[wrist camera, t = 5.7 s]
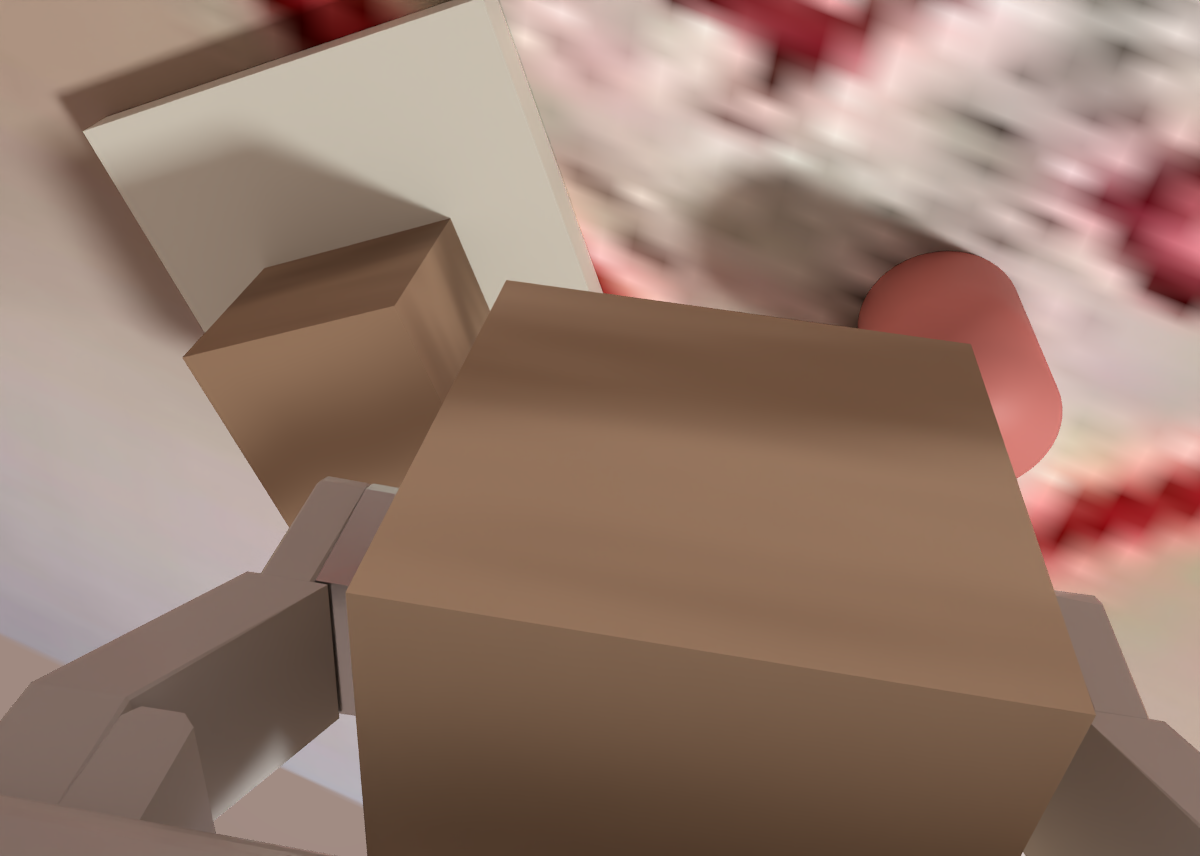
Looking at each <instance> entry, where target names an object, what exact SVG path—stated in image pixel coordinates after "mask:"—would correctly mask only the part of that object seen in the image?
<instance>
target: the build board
mask: <svg viewBox="0 0 1200 856" xmlns="http://www.w3.org/2000/svg"><path fill="white" fill-rule="evenodd" d="M83 133H84V134H85V136H86V138H87V139H88V141H89V143H90V144H91V146H92V148H93V149H94V151H95V153H96V154H97V156H98V158H99V159H100V161H101V162H102V164H103V166H104V167H105V169H106V171H107V172H108V174H109V176H110V177H111V179H112V181H113V182H114V184H115V186H116V187H117V189H118V191H119V192H120V194H121V195H122V197H123V199H124V200H125V202H126V204H127V205H128V207H129V209H130V210H131V212H132V214H133V215H134V217H135V219H136V220H137V222H138V224H139V225H140V227H141V228H142V230H143V232H144V233H145V235H146V237H147V238H148V240H149V242H150V243H151V245H152V247H153V248H154V250H155V252H156V253H157V255H158V257H159V258H160V260H161V261H162V263H163V265H164V266H165V268H166V270H167V271H168V273H169V275H170V276H171V278H172V280H173V281H174V283H175V285H176V286H177V288H178V290H179V291H180V293H181V294H182V296H183V298H184V299H185V301H186V303H187V304H188V306H189V308H190V309H191V311H192V313H193V314H194V316H195V318H196V319H197V321H198V323H199V324H200V326H201V328H202V329H203V331H204V332H206V331H207V330H208V329H209V328H210V327H211V326H212V325H213V324H214V323H215V321H216V320H217V319H218V318H219V317H220V316H221V315H222V314H223V313H224V312H225V311H226V309H227V308H228V307H229V306H230V305H231V304H232V303H233V302H234V301H235V300H236V299H237V297H238V296H239V295H240V294H241V293H242V292H243V291H244V290H245V289H246V288H247V286H248V285H249V284H250V283H251V282H252V281H253V280H254V279H255V278H256V277H257V276H258V274H259V273H260V272H261V271H262V270H263V269H264V268H267V267H270V266H274V265H278V264H282V263H285V262H289V261H293V260H297V259H300V258H304V257H308V256H311V255H315V254H319V253H323V252H326V251H330V250H334V249H338V248H341V247H345V246H349V245H352V244H356V243H360V242H364V241H367V240H371V239H375V238H379V237H382V236H386V235H390V234H393V233H397V232H401V231H405V230H408V229H412V228H416V227H420V226H423V225H427V224H431V223H434V222H438V221H442V220H446V219H449V218H451V221H452V223H453V225H454V228H455V230H456V232H457V235H458V237H459V239H460V242H461V244H462V246H463V249H464V251H465V253H466V256H467V258H468V260H469V263H470V265H471V267H472V270H473V272H474V274H475V277H476V279H477V281H478V284H479V286H480V288H481V291H482V293H483V295H484V298H485V300H486V302H487V305H488V307H489V309H490V311H491V309H492V307H493V305H494V303H495V301H496V299H497V297H498V295H499V293H500V291H501V289H502V287H503V285H504V283H505V282H506V280H511V281H518V282H525V283H532V284H540V285H547V286H554V287H561V288H569V289H576V290H583V291H590V292H597V293H603V292H602V289H601V286H600V283H599V281H598V278H597V275H596V272H595V269H594V267H593V264H592V261H591V258H590V255H589V253H588V250H587V247H586V244H585V241H584V239H583V236H582V233H581V230H580V227H579V225H578V222H577V219H576V216H575V213H574V211H573V208H572V205H571V202H570V199H569V197H568V194H567V191H566V188H565V185H564V183H563V180H562V177H561V174H560V171H559V169H558V166H557V163H556V160H555V157H554V155H553V152H552V149H551V146H550V143H549V141H548V138H547V135H546V132H545V129H544V127H543V124H542V121H541V118H540V115H539V113H538V110H537V107H536V104H535V101H534V99H533V96H532V93H531V90H530V87H529V85H528V82H527V79H526V76H525V73H524V71H523V68H522V65H521V62H520V59H519V57H518V54H517V51H516V48H515V45H514V43H513V40H512V37H511V34H510V31H509V29H508V26H507V23H506V20H505V18H504V15H503V12H502V9H501V6H500V4H499V1H498V0H451V1H448V2H445V3H442V4H439V5H436V6H433V7H430V8H427V9H424V10H421V11H418V12H416V13H413V14H410V15H407V16H404V17H401V18H398V19H395V20H392V21H389V22H386V23H383V24H380V25H377V26H374V27H371V28H368V29H365V30H362V31H359V32H356V33H353V34H350V35H347V36H344V37H342V38H339V39H336V40H333V41H330V42H327V43H324V44H321V45H318V46H315V47H312V48H309V49H306V50H303V51H300V52H297V53H294V54H291V55H288V56H285V57H282V58H279V59H276V60H273V61H271V62H268V63H265V64H262V65H259V66H256V67H253V68H250V69H247V70H244V71H241V72H238V73H235V74H232V75H229V76H226V77H223V78H220V79H217V80H214V81H211V82H208V83H205V84H202V85H200V86H197V87H194V88H191V89H188V90H185V91H182V92H179V93H176V94H173V95H170V96H167V97H164V98H161V99H158V100H155V101H152V102H149V103H146V104H143V105H140V106H137V107H134V108H131V109H129V110H126V111H123V112H120V113H117V114H114V115H111V116H108V117H105V118H104V119H102V120H100V121H99V122H97V123H96V124H94V125H92V126H91V127H89V128H87V129H86V130H84V131H83Z"/></svg>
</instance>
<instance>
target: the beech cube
mask: <svg viewBox="0 0 1200 856" xmlns="http://www.w3.org/2000/svg"><path fill="white" fill-rule="evenodd" d="M345 593H346V605H347V617H348V629H349V641H350V653H351V665H352V677H353V688H354V700H355V712H356V724H357V736H358V748H359V760H360V772H361V784H362V796H363V808H364V820H365V832H366V844H367V856H1021V854H1022V852H1023V850H1024V848H1025V847H1026V845H1027V843H1028V841H1029V839H1030V837H1031V835H1032V834H1033V832H1034V830H1035V828H1036V826H1037V824H1038V822H1039V821H1040V819H1041V817H1042V815H1043V813H1044V811H1045V809H1046V808H1047V806H1048V804H1049V802H1050V800H1051V798H1052V796H1053V795H1054V793H1055V791H1056V789H1057V787H1058V785H1059V783H1060V781H1061V780H1062V778H1063V776H1064V774H1065V772H1066V770H1067V768H1068V767H1069V765H1070V763H1071V761H1072V759H1073V757H1074V755H1075V754H1076V752H1077V750H1078V748H1079V746H1080V744H1081V742H1082V741H1083V739H1084V737H1085V735H1086V733H1087V731H1088V729H1089V727H1090V726H1091V724H1092V722H1093V720H1094V718H1095V716H1096V713H1095V710H1094V707H1093V704H1092V701H1091V698H1090V696H1089V693H1088V690H1087V687H1086V684H1085V681H1084V678H1083V675H1082V672H1081V669H1080V666H1079V663H1078V660H1077V657H1076V654H1075V651H1074V648H1073V645H1072V642H1071V639H1070V636H1069V633H1068V630H1067V627H1066V624H1065V621H1064V618H1063V616H1062V613H1061V610H1060V607H1059V604H1058V601H1057V598H1056V595H1055V592H1054V589H1053V586H1052V583H1051V580H1050V577H1049V574H1048V571H1047V568H1046V565H1045V562H1044V559H1043V556H1042V553H1041V550H1040V547H1039V544H1038V541H1037V539H1036V536H1035V533H1034V530H1033V527H1032V524H1031V521H1030V518H1029V515H1028V512H1027V509H1026V506H1025V503H1024V500H1023V497H1022V494H1021V491H1020V488H1019V485H1018V482H1017V479H1016V476H1015V473H1014V470H1013V467H1012V464H1011V461H1010V459H1009V456H1008V453H1007V450H1006V447H1005V444H1004V441H1003V438H1002V435H1001V432H1000V429H999V426H998V423H997V420H996V417H995V414H994V411H993V408H992V405H991V402H990V399H989V396H988V393H987V390H986V387H985V384H984V382H983V379H982V376H981V373H980V370H979V367H978V364H977V361H976V358H975V355H974V352H973V349H972V346H971V344H966V343H959V342H952V341H945V340H937V339H930V338H923V337H916V336H908V335H901V334H894V333H887V332H879V331H872V330H865V329H858V328H851V327H843V326H836V325H829V324H822V323H814V322H807V321H800V320H793V319H785V318H778V317H771V316H764V315H757V314H749V313H742V312H735V311H728V310H720V309H713V308H706V307H699V306H691V305H684V304H677V303H670V302H663V301H655V300H648V299H641V298H634V297H626V296H619V295H612V294H605V293H597V292H590V291H583V290H576V289H569V288H561V287H554V286H547V285H540V284H532V283H525V282H518V281H511V280H506V282H505V283H504V285H503V287H502V289H501V291H500V293H499V295H498V297H497V299H496V301H495V303H494V305H493V307H492V309H491V311H490V313H489V315H488V316H487V318H486V320H485V322H484V324H483V326H482V328H481V330H480V332H479V334H478V336H477V338H476V340H475V342H474V344H473V346H472V348H471V350H470V351H469V353H468V355H467V357H466V359H465V361H464V363H463V365H462V367H461V369H460V371H459V373H458V375H457V377H456V379H455V381H454V383H453V384H452V386H451V388H450V390H449V392H448V394H447V396H446V398H445V400H444V402H443V404H442V406H441V408H440V410H439V412H438V414H437V416H436V418H435V419H434V421H433V423H432V425H431V427H430V429H429V431H428V433H427V435H426V437H425V439H424V441H423V443H422V445H421V447H420V449H419V451H418V453H417V454H416V456H415V458H414V460H413V462H412V464H411V466H410V468H409V470H408V472H407V474H406V476H405V478H404V480H403V482H402V484H401V486H400V487H399V489H398V491H397V493H396V495H395V497H394V499H393V501H392V503H391V505H390V507H389V509H388V511H387V513H386V515H385V517H384V519H383V521H382V522H381V524H380V526H379V528H378V530H377V532H376V534H375V536H374V538H373V540H372V542H371V544H370V546H369V548H368V550H367V552H366V554H365V555H364V557H363V559H362V561H361V563H360V565H359V567H358V569H357V571H356V573H355V575H354V577H353V579H352V581H351V583H350V585H349V587H348V589H347V590H346V592H345Z"/></svg>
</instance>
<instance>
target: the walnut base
mask: <svg viewBox="0 0 1200 856" xmlns="http://www.w3.org/2000/svg"><path fill="white" fill-rule="evenodd" d="M489 313H490V309H489V307H488V305H487V302H486V300H485V298H484V295H483V293H482V291H481V288H480V286H479V284H478V281H477V279H476V277H475V274H474V272H473V270H472V267H471V265H470V263H469V260H468V258H467V256H466V253H465V251H464V249H463V246H462V244H461V242H460V239H459V237H458V235H457V232H456V230H455V228H454V225H453V223H452V221H451V218H449V219H446V220H442V221H438V222H434V223H431V224H427V225H423V226H420V227H416V228H412V229H408V230H405V231H401V232H397V233H393V234H390V235H386V236H382V237H379V238H375V239H371V240H367V241H364V242H360V243H356V244H352V245H349V246H345V247H341V248H338V249H334V250H330V251H326V252H323V253H319V254H315V255H311V256H308V257H304V258H300V259H297V260H293V261H289V262H285V263H282V264H278V265H274V266H270V267H267V268H264V269H263V270H262V271H261V272H260V273H259V274H258V276H257V277H256V278H255V279H254V280H253V281H252V282H251V283H250V284H249V285H248V286H247V288H246V289H245V290H244V291H243V292H242V293H241V294H240V295H239V296H238V297H237V299H236V300H235V301H234V302H233V303H232V304H231V305H230V306H229V307H228V308H227V309H226V311H225V312H224V313H223V314H222V315H221V316H220V317H219V318H218V319H217V320H216V321H215V323H214V324H213V325H212V326H211V327H210V328H209V329H208V330H207V331H206V332H205V333H204V335H203V336H202V337H201V338H200V339H199V340H198V341H197V342H196V343H195V344H194V345H193V347H192V348H191V349H190V350H189V351H188V352H187V353H186V354H185V355H184V356H183V359H184V361H185V362H186V364H187V366H188V367H189V369H190V370H191V372H192V374H193V375H194V377H195V378H196V380H197V382H198V383H199V385H200V386H201V388H202V389H203V391H204V393H205V394H206V396H207V397H208V399H209V401H210V402H211V404H212V405H213V407H214V409H215V410H216V412H217V413H218V415H219V417H220V418H221V420H222V421H223V423H224V424H225V426H226V428H227V429H228V431H229V432H230V434H231V436H232V437H233V439H234V440H235V442H236V444H237V445H238V447H239V448H240V450H241V451H242V453H243V455H244V456H245V458H246V459H247V461H248V463H249V464H250V466H251V467H252V469H253V471H254V472H255V474H256V475H257V477H258V479H259V480H260V482H261V483H262V485H263V486H264V488H265V490H266V491H267V493H268V494H269V496H270V498H271V499H272V501H273V502H274V504H275V506H276V507H277V509H278V510H279V512H280V514H281V515H282V517H283V518H284V520H285V521H286V523H287V525H288V526H289V528H290V526H291V524H292V523H293V521H294V520H295V518H296V516H297V515H298V513H299V512H300V510H301V508H302V507H303V505H304V504H305V502H306V500H307V499H308V497H309V496H310V494H311V492H312V491H313V489H314V488H315V486H316V484H317V483H318V482H320V481H321V480H323V479H324V478H326V477H327V476H330V477H335V478H341V479H347V480H353V481H358V482H364V483H368V484H371V485H372V484H379V485H385V486H390V487H396V488H399V487H400V486H401V484H402V482H403V480H404V478H405V476H406V474H407V472H408V470H409V468H410V466H411V464H412V462H413V460H414V458H415V456H416V454H417V453H418V451H419V449H420V447H421V445H422V443H423V441H424V439H425V437H426V435H427V433H428V431H429V429H430V427H431V425H432V423H433V421H434V419H435V418H436V416H437V414H438V412H439V410H440V408H441V406H442V404H443V402H444V400H445V398H446V396H447V394H448V392H449V390H450V388H451V386H452V384H453V383H454V381H455V379H456V377H457V375H458V373H459V371H460V369H461V367H462V365H463V363H464V361H465V359H466V357H467V355H468V353H469V351H470V350H471V348H472V346H473V344H474V342H475V340H476V338H477V336H478V334H479V332H480V330H481V328H482V326H483V324H484V322H485V320H486V318H487V316H488V315H489Z"/></svg>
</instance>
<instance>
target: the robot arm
mask: <svg viewBox="0 0 1200 856" xmlns="http://www.w3.org/2000/svg"><path fill="white" fill-rule="evenodd" d="M398 489H399V488H396V487H390V486H385V485H379V484H372V485H371V484H368V483H364V482H358V481H353V480H347V479H341V478H335V477H330V476H327V477H326V478H324V479H323V480H321V481H320V482H318V483H317V484H316V486H315V488H314V489H313V491H312V492H311V494H310V496H309V497H308V499H307V500H306V502H305V504H304V505H303V507H302V508H301V510H300V512H299V513H298V515H297V516H296V518H295V520H294V521H293V523H292V524H291V526H290V528H289V529H288V531H287V532H286V534H285V535H284V537H283V539H282V540H281V542H280V543H279V545H278V547H277V548H276V550H275V551H274V553H273V555H272V556H271V558H270V559H269V561H268V563H267V564H266V566H265V567H264V569H263V571H262V572H261V573H254V572H248V571H247V572H245V573H243V574H241V575H239V576H237V577H236V578H234V579H232V580H230V581H228V582H226V583H224V584H222V585H220V586H218V587H216V588H214V589H212V590H210V591H208V592H206V593H204V594H202V595H200V596H199V597H197V598H195V599H193V600H191V601H189V602H187V603H185V604H183V605H181V606H179V607H177V608H175V609H173V610H171V611H169V612H167V613H165V614H163V615H162V616H160V617H158V618H156V619H154V620H152V621H150V622H148V623H146V624H144V625H142V626H140V627H138V628H136V629H134V630H132V631H130V632H128V633H126V634H124V635H123V636H121V637H119V638H117V639H115V640H113V641H111V642H109V643H107V644H105V645H103V646H101V647H99V648H97V649H95V650H93V651H91V652H89V653H87V654H86V655H84V656H82V657H80V658H78V659H76V660H74V661H72V662H70V663H68V664H66V665H64V666H62V667H60V668H58V669H57V670H54V671H52V672H51V673H49V674H47V675H45V676H43V677H41V678H39V679H37V680H35V681H33V682H31V683H30V685H29V686H28V687H27V688H26V689H25V691H24V692H23V693H22V694H21V696H20V697H19V698H18V699H17V701H16V702H15V703H14V704H13V706H12V707H11V708H10V709H9V711H8V712H7V713H6V714H5V716H4V717H3V718H2V719H1V721H0V856H336V855H331V854H325V853H320V852H314V851H309V850H303V849H297V848H292V847H287V846H281V845H276V844H270V843H265V842H259V841H254V840H248V839H243V838H237V837H231V836H226V835H221V834H216V832H215V827H214V822H213V821H214V820H215V819H217V818H218V817H219V816H220V815H221V814H223V813H224V812H225V811H226V810H228V809H229V808H230V807H231V806H233V805H234V804H235V803H236V802H237V801H239V800H240V799H241V798H242V797H243V796H245V795H246V794H247V793H248V792H250V791H251V790H252V789H253V788H254V787H256V786H257V785H258V784H259V783H261V782H262V781H263V780H264V779H265V778H267V777H268V776H269V775H270V774H272V773H273V772H274V771H275V770H276V769H278V768H279V767H280V766H281V765H283V764H284V763H285V762H286V761H287V760H289V759H290V758H291V757H292V756H294V755H295V754H296V753H297V752H298V751H300V750H301V749H302V748H303V747H304V746H306V745H307V744H308V743H309V742H311V741H312V740H313V739H314V738H315V737H317V736H318V735H319V734H320V733H322V732H323V731H324V730H325V729H326V728H328V727H329V726H330V725H331V724H333V723H334V722H335V721H336V720H337V719H339V713H341V714H348V715H355V716H356V712H355V700H354V688H353V677H352V665H351V653H350V641H349V629H348V617H347V605H346V593H345V592H346V590H347V589H348V587H349V585H350V583H351V581H352V579H353V577H354V575H355V573H356V571H357V569H358V567H359V565H360V563H361V561H362V559H363V557H364V555H365V554H366V552H367V550H368V548H369V546H370V544H371V542H372V540H373V538H374V536H375V534H376V532H377V530H378V528H379V526H380V524H381V522H382V521H383V519H384V517H385V515H386V513H387V511H388V509H389V507H390V505H391V503H392V501H393V499H394V497H395V495H396V493H397V491H398ZM1054 592H1055V595H1056V598H1057V601H1058V604H1059V607H1060V610H1061V613H1062V616H1063V618H1064V621H1065V624H1066V627H1067V630H1068V633H1069V636H1070V639H1071V642H1072V645H1073V648H1074V651H1075V654H1076V657H1077V660H1078V663H1079V666H1080V669H1081V672H1082V675H1083V678H1084V681H1085V684H1086V687H1087V690H1088V693H1089V696H1090V698H1091V701H1092V704H1093V707H1094V710H1095V713H1096V716H1095V718H1094V720H1093V722H1092V724H1091V726H1090V727H1089V729H1088V731H1087V733H1086V735H1085V737H1084V739H1083V741H1082V742H1081V744H1080V746H1079V748H1078V750H1077V752H1076V754H1075V755H1074V757H1073V759H1072V761H1071V763H1070V765H1069V767H1068V768H1067V770H1066V772H1065V774H1064V776H1063V778H1062V780H1061V781H1060V783H1059V785H1058V787H1057V789H1056V791H1055V793H1054V795H1053V796H1052V798H1051V800H1050V802H1049V804H1048V806H1047V808H1046V809H1045V811H1044V813H1043V815H1042V817H1041V819H1040V821H1039V822H1038V824H1037V826H1036V828H1035V830H1034V832H1033V834H1032V835H1031V837H1030V839H1029V841H1028V843H1027V845H1026V847H1025V848H1024V850H1023V853H1024V854H1025V855H1026V856H1200V752H1199V751H1198V750H1196V749H1195V748H1194V747H1193V746H1192V745H1191V744H1190V743H1188V742H1187V741H1186V740H1185V739H1184V738H1183V737H1182V736H1180V735H1179V734H1178V733H1177V732H1176V731H1175V730H1174V729H1172V728H1171V727H1170V726H1169V725H1168V724H1167V723H1166V722H1164V721H1158V720H1152V719H1149V717H1148V715H1147V712H1146V710H1145V707H1144V705H1143V702H1142V700H1141V698H1140V695H1139V693H1138V690H1137V688H1136V685H1135V683H1134V680H1133V678H1132V675H1131V673H1130V671H1129V668H1128V666H1127V663H1126V661H1125V658H1124V656H1123V653H1122V651H1121V648H1120V646H1119V643H1118V641H1117V639H1116V636H1115V634H1114V631H1113V629H1112V626H1111V624H1110V621H1109V619H1108V616H1107V614H1106V612H1105V609H1104V607H1103V604H1102V603H1101V602H1100V601H1099V600H1098V599H1097V598H1096V597H1095V596H1092V595H1084V594H1077V593H1069V592H1062V591H1055V590H1054Z"/></svg>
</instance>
